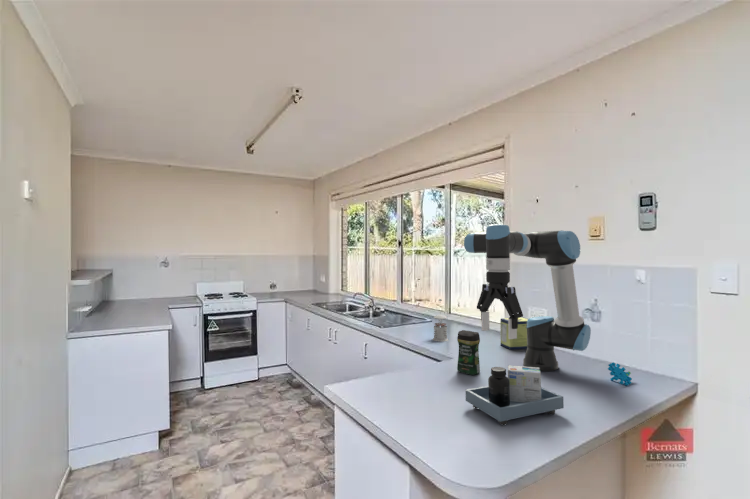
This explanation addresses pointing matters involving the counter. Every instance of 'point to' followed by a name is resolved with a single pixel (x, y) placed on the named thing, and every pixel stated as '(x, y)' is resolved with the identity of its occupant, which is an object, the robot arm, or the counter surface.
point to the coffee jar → (468, 352)
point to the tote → (514, 404)
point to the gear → (619, 374)
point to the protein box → (521, 334)
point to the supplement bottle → (499, 387)
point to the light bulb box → (524, 383)
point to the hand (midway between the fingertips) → (498, 334)
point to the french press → (440, 329)
